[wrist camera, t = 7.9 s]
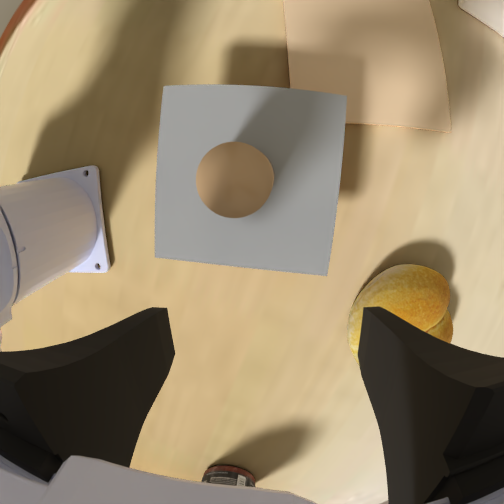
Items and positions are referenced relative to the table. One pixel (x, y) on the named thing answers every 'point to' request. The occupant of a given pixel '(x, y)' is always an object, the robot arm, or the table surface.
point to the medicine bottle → (486, 12)
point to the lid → (249, 176)
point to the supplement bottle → (228, 476)
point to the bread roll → (405, 301)
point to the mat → (371, 59)
